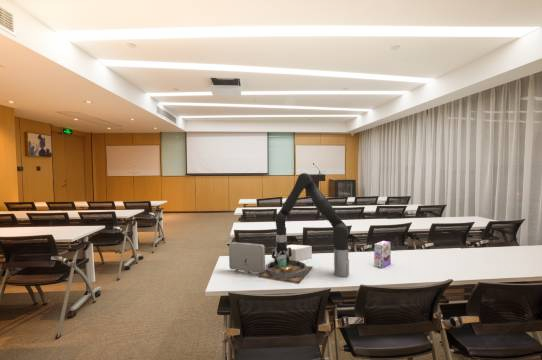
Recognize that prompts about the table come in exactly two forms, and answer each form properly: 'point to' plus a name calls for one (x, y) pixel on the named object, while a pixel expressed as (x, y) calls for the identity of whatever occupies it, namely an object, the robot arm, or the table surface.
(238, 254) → the network device
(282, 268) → the sun gear
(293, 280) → the carrier plate
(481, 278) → the table surface
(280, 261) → the teal short hollow cylinder
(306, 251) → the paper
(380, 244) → the candy box
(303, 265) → the ring gear
